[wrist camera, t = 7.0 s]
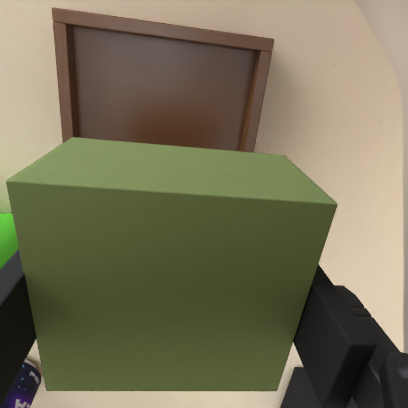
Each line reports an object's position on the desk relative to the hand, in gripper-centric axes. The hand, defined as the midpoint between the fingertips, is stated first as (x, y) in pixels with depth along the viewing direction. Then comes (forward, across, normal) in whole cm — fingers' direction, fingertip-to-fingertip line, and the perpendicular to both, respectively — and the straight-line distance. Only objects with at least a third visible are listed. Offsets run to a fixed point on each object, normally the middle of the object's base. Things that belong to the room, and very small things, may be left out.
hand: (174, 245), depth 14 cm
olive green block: (+1, 0, 0) cm, 1 cm away
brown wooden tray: (+13, -1, -1) cm, 13 cm away
